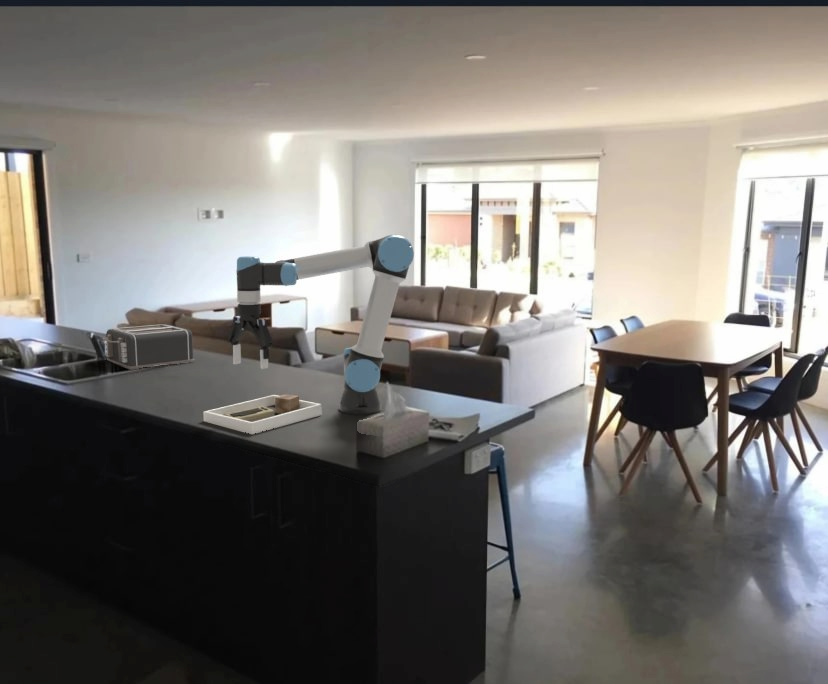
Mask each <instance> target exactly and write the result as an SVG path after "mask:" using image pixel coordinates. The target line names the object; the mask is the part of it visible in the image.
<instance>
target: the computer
mask: <svg viewBox="0 0 828 684" xmlns="http://www.w3.org/2000/svg"><path fill="white" fill-rule="evenodd" d="M223 415H224V416H229V417H233V418H237V419H241V420H245V421H250V422H254V421H258V420H262V419H265V418H269V417H273V416H275V411H274V409H272V408H269V407H263V406H259V407H254V408H250V409H245V410H240V411H236V412H231V413H226V414H223Z"/></svg>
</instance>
